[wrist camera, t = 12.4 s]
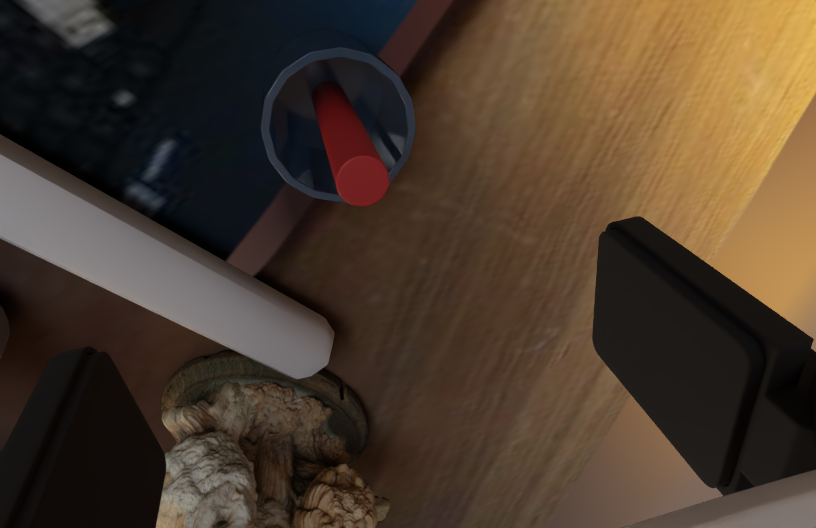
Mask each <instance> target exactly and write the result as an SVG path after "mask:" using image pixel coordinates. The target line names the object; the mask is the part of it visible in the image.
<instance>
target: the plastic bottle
mask: <svg viewBox="0 0 816 528" xmlns="http://www.w3.org/2000/svg"><path fill="white" fill-rule="evenodd" d="M9 333H10V327H9V321H8V319H7V316H6V314H5V312H4V310H3V308H2V307H1V306H0V359H1V357H2V355H3V352H4V350H5V347H6V344H7V342H8V339H9Z"/></svg>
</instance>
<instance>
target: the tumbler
mask: <svg viewBox="0 0 816 528" xmlns="http://www.w3.org/2000/svg"><path fill="white" fill-rule="evenodd" d="M324 81H333V82H335V83H337V84H339V85H340V86H341V87H342V88H343V90H344V92H345V93H346V95H347V97H348V99H349V101H350V103H351V104H352V106H353V108H354V110H355V112H356V113H357V115H358V117H359V119H360V121H361V123H362V124H363V126H364V128H365V130H366V132H367V134H368V135H369V137H370V139H371V141H372V143H373V144H374V146H375V148H376V150H377V152H378V154H379V155H380V157H381V159H382V161H383V163H384V164H385V166H386V168H387V170H388V173H389V183H390V182H391V181H393V179H394V178H395V177H396V175H397V174H398V173H399V171H400V170H401V168H402V167H403V166H404V164H405V163H406V162H407V160H408V158H409V156H410V152H411V149H412V145H413V141H414V137H415V134H416V124H415V115H414V107H413V101H412V99H411V97H410V95H409V93H408V92H407V90H406V88H405V86H404V84H403V83H402V81H401V79H400V77H399V76H398V74H397V73H396V72H395V71H394V70H392V69H391V68H390V67H389V66H388V65H387V64H386V63H385V62H384V61H383V60H382V59H380V58H379V57H378V56H377V55H376V54H375V53H374V52H373V51H372V50H370V49H369V48H368V47H367V46H365V45H364V44H363V43H362V42H360V41H359V40H358V39H356V38H355V37H354V36H352V35H350V34H347V33H344V32H341V31H338V30H332V29H313V30H309V31H305V32H302V33H300V34H297V35H296V36H294V37H292V38H290V39H289V40H288V41H286V42H285V43H284V44H283V45H282V46H281V47H280V48H279V49H278V50H277V52H276V53H275V54H274V56H273V57H272V59H271V61H270V63H269V65H268V67H267V69H266V74H265V80H264V88H263V97H262V112H261V127H260V129H261V134H262V138H263V141H264V145H265V149H266V152H267V156H268V159H269V161H270V162H271V163H272V164H273V166H274V167H275V168H276V170H277V171H278V172H279V174H280V175H281V176H282V177H283V179H284V180H285V181H286V182H287V183H288V184H290V185H291V186H293V187H295V188H296V189H298V190H300V191H301V192H303V193H305V194H307V195H308V196H310V197H312V198H317V199H323V200H329V201H335V202H345V200H344V199H343V198H342V197H341V196H340V195H339V193H338V191H337V188H336V184H335V181H334V177H333V174H332V170H331V166H330V163H329V159H328V156H327V152H326V149H325V145H324V142H323V138H322V135H321V131H320V128H319V124H318V121H317V117H316V114H315V110H314V107H313V103H312V93H313V90H314V89H315V87H316V86H317V85H318V84H320V83H322V82H324Z"/></svg>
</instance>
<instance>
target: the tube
mask: <svg viewBox="0 0 816 528" xmlns="http://www.w3.org/2000/svg"><path fill="white" fill-rule="evenodd" d="M0 239H2V240H5V241H7V242H9V243H11V244H13V245H15V246H17V247H19V248H21V249H23V250H25V251H27V252H30V253H32V254H34V255H36V256H38V257H40V258H42V259H44V260H46V261H48V262H50V263H53V264H55V265H57V266H59V267H61V268H63V269H65V270H67V271H69V272H71V273H73V274H75V275H78V276H80V277H82V278H84V279H86V280H88V281H90V282H92V283H94V284H96V285H98V286H100V287H103V288H105V289H107V290H109V291H111V292H113V293H115V294H117V295H119V296H121V297H123V298H126V299H128V300H130V301H132V302H134V303H136V304H138V305H140V306H142V307H144V308H146V309H148V310H151V311H153V312H155V313H157V314H159V315H161V316H163V317H165V318H167V319H169V320H171V321H174V322H176V323H178V324H180V325H182V326H184V327H186V328H188V329H190V330H192V331H194V332H196V333H199V334H201V335H203V336H205V337H207V338H209V339H211V340H213V341H215V342H217V343H219V344H221V345H224V346H226V347H228V348H230V349H232V350H234V351H236V352H238V353H240V354H242V355H244V356H247V357H249V358H251V359H253V360H255V361H257V362H259V363H261V364H263V365H265V366H267V367H269V368H272V369H274V370H276V371H278V372H280V373H282V374H284V375H286V376H289V377H292V378H295V379H301V378H305V377H310V376H312V375H314V374H315V373H316V372H318V371H319V370H321V369H322V368H324V367H325V366H326V365H328V362H329V358H330V353H331V349H332V345H333V340H334V334H335V333H334V331H333V330H332V328H331V326H330V325H329V323H328V322H327V320H326V319H325V317H323V316H321V315H319V314H318V313H316V312H314V311H312V310H310V309H309V308H307V307H305V306H303V305H302V304H300V303H298V302H296V301H295V300H293V299H291V298H289V297H287V296H286V295H284V294H282V293H280V292H279V291H277V290H275V289H273V288H271V287H270V286H268V285H266V284H264V283H263V282H261V281H259V280H257V279H256V278H254V277H252V276H250V275H248V274H247V273H245V272H243V271H241V270H239V269H238V268H236V267H234V266H233V265H231V264H229V263H227V262H225V261H224V260H222V259H220V258H218V257H217V256H215V255H213V254H211V253H210V252H208V251H206V250H204V249H202V248H201V247H199V246H197V245H195V244H194V243H192V242H190V241H188V240H186V239H185V238H183V237H181V236H179V235H178V234H176V233H174V232H172V231H171V230H169V229H167V228H165V227H163V226H162V225H160V224H158V223H156V222H155V221H153V220H151V219H149V218H148V217H146V216H144V215H142V214H140V213H139V212H137V211H135V210H133V209H132V208H130V207H128V206H126V205H124V204H123V203H121V202H119V201H117V200H116V199H114V198H112V197H110V196H109V195H107V194H105V193H103V192H101V191H100V190H98V189H96V188H94V187H93V186H91V185H89V184H87V183H86V182H84V181H82V180H80V179H78V178H77V177H75V176H73V175H71V174H70V173H68V172H66V171H64V170H62V169H61V168H59V167H57V166H55V165H54V164H52V163H50V162H48V161H47V160H45V159H43V158H41V157H39V156H38V155H36V154H34V153H32V152H31V151H29V150H27V149H25V148H24V147H22V146H20V145H18V144H16V143H15V142H13V141H11V140H9V139H8V138H6V137H4V136H2V135H1V134H0Z"/></svg>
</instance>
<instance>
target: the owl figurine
mask: <svg viewBox="0 0 816 528" xmlns="http://www.w3.org/2000/svg"><path fill="white" fill-rule="evenodd" d="M341 385H342V384H341V382H340V381H339V380H338V379H336V377H334V376H333V375H331V374H329V373H328V372H326V371H324V370H322V369H321V370H319V371H318V372H316V373H315V374H314V375H312V376H310V377H305V378H301V379H295V378H292V377H289V376H286V375H284V374H282V373H280V372H278V371H276V370H274V369H272V368H269V367H267V366H265V365H263V364H261V363H259V362H257V361H255V360H253V359H251V358H249V357H247V356H244V355H242V354H240V353H238V352H236V351H222V352H221V353H218V354H215V355H211V357H210V358H205V359H204V357H200V358H199V357H198V358H196V359H193V360H192V361H190V362H187V363H186V364H185V365H184V366H182V367H181V368H180V369H179V370H178V371H177V372H175V374H174V375H172V377H171V378H170V379H169V381H168V383H167V384H166V386H165V389H164V392H163V394H162V400H161V411H162V421H163V424H164V425H165V426H166V428H167V429H168V430H169V432H170V433H171V435H172V436H173V437H174V439H176V441H177V444H176V445H175V446H174V447H173V448H172V449H171V450H170V451H169V452H167V453H166V454H165V459H166V475H165V480H164V486H163V491H162V496H161V502H160V507H159V513H158V518H157V523H156V528H376V524H377V522H378V521H382V520H384V519H385V517H386V514H387V512H388V511H389V508H390V503H389V500H388V499H387V498H384V497H382V498H379V497H377V496H374V493H373V492H372V488H371V486H369V485H368V484H367V483H365V481H364V480H363V478H362V476H361V475H360V474H359V473H358V472H357V470H355V469H352V468H349V467H348V466H349V465H351V464H352V463H353V462H354V461H356V460H357V459H358V458H359V457H360V455H361V454H362V452H363V451H364V449H365V447H366V446H367V439H368V424H367V422H368V421H367V418H366V414H365V411H364V409H363V406H362V404H361V402H360V401H359V399H357V397H356V396H355V395H353V393H352V392H351V390H350V389H349V388H348V387H347V386H346V387H344V389H343V390H344V391H343V392H344V399H343V400H341V398H340V391H339V388H340V387H341ZM324 463H325V464H324ZM326 465H327V466H326Z"/></svg>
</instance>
